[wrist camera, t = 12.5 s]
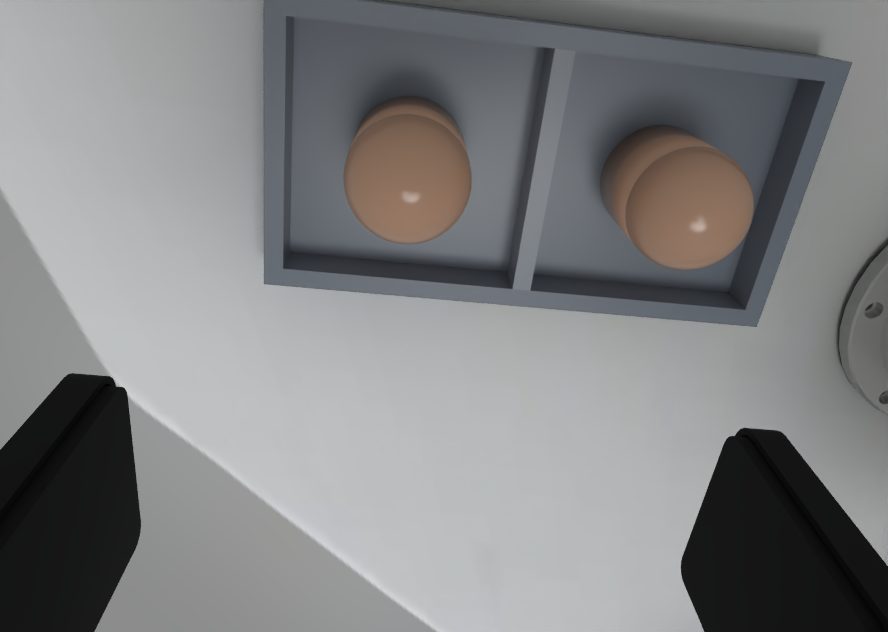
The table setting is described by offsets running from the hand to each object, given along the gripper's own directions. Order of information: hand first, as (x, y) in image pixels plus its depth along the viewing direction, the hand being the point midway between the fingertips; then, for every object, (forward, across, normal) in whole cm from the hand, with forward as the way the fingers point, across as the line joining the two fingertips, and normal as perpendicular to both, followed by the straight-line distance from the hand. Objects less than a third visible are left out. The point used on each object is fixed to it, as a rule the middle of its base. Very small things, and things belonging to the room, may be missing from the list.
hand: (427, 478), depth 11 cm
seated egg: (+21, -10, 0) cm, 23 cm away
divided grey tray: (+22, -5, 0) cm, 22 cm away
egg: (+21, +1, 0) cm, 21 cm away
